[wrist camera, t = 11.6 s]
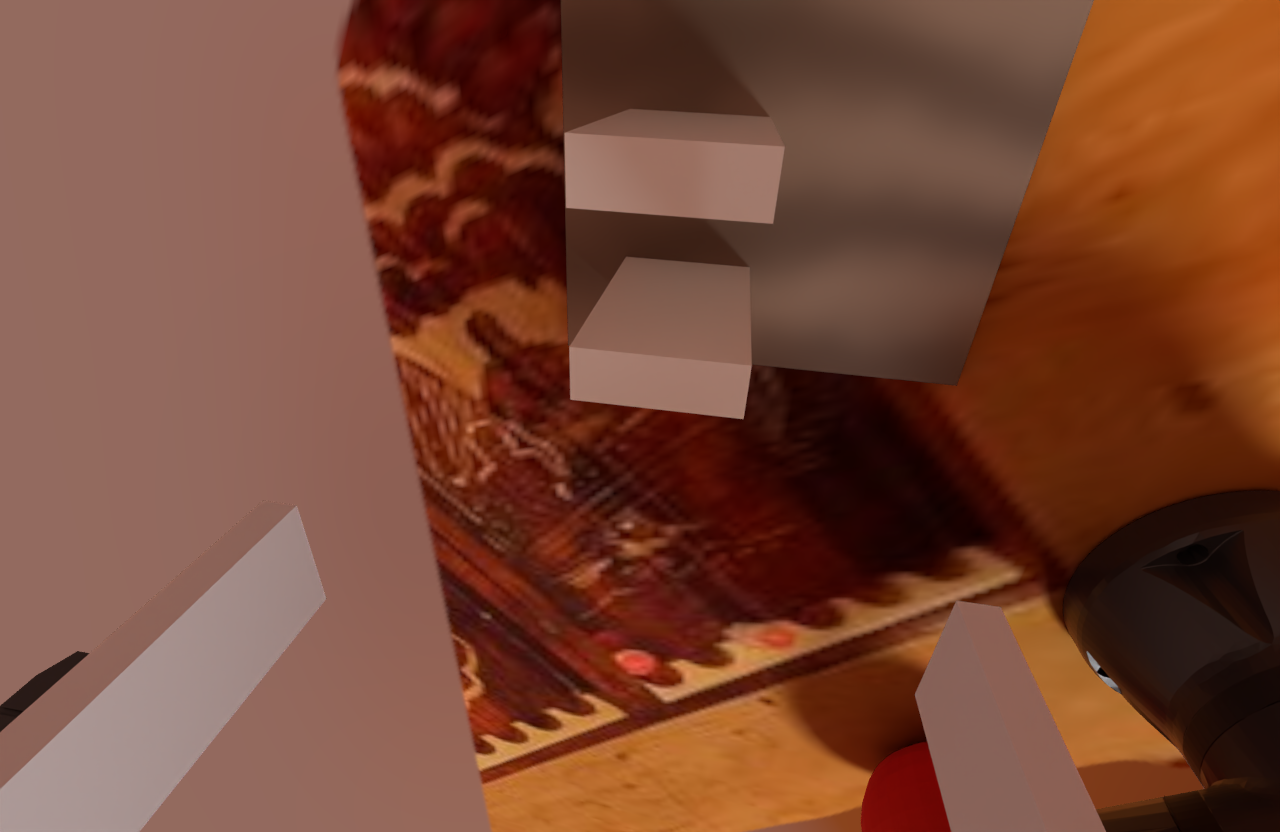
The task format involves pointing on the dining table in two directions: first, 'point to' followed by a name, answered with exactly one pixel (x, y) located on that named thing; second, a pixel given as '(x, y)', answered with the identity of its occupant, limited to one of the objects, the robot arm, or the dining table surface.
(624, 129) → the domino
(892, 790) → the tomato
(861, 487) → the dining table surface
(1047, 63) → the walnut board
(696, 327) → the loose domino
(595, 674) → the dining table surface
